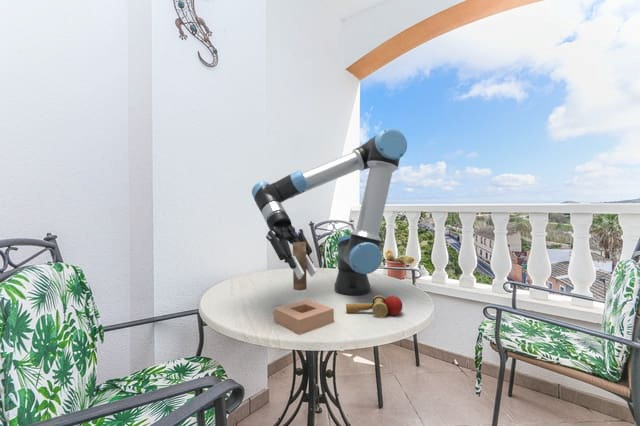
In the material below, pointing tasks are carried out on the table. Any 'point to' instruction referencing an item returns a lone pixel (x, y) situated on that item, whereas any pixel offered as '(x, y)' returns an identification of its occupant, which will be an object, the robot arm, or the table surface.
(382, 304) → the kendama
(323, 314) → the socket block
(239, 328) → the table surface
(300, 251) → the peg
